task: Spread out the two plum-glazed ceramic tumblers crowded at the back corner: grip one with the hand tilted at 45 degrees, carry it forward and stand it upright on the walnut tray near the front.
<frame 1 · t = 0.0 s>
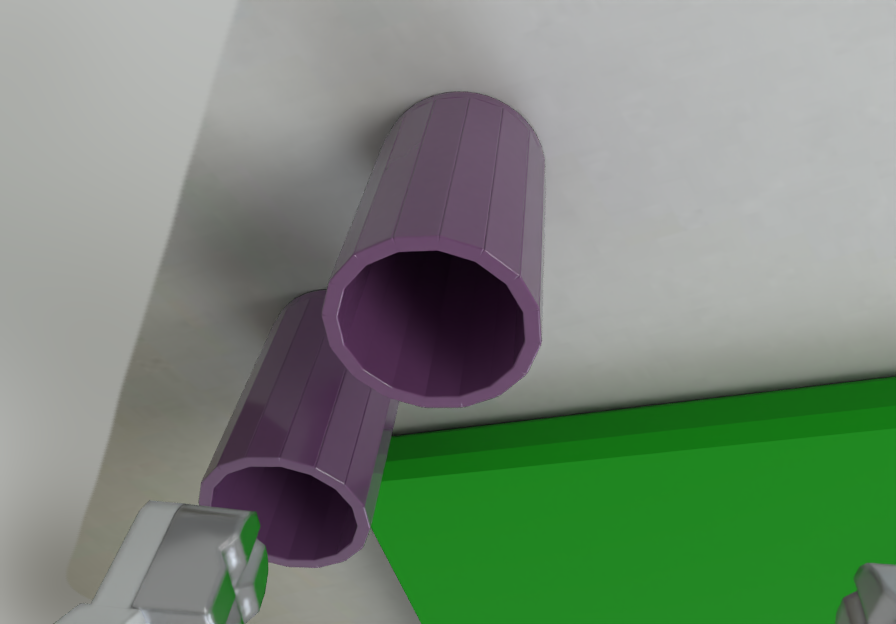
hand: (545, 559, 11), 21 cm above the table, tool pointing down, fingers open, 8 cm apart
book: (661, 541, 44), on the table
plum tumbler: (463, 169, 31), on the table
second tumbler: (341, 343, 37), on the table
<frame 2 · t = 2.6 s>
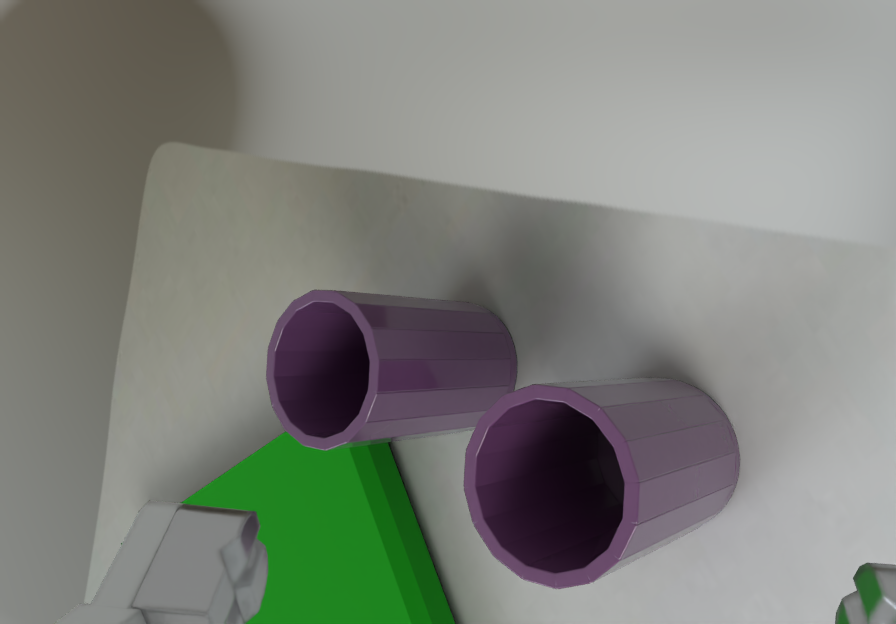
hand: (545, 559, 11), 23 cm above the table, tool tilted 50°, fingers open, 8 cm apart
plum tumbler: (662, 453, 33), on the table
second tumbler: (463, 366, 40), on the table
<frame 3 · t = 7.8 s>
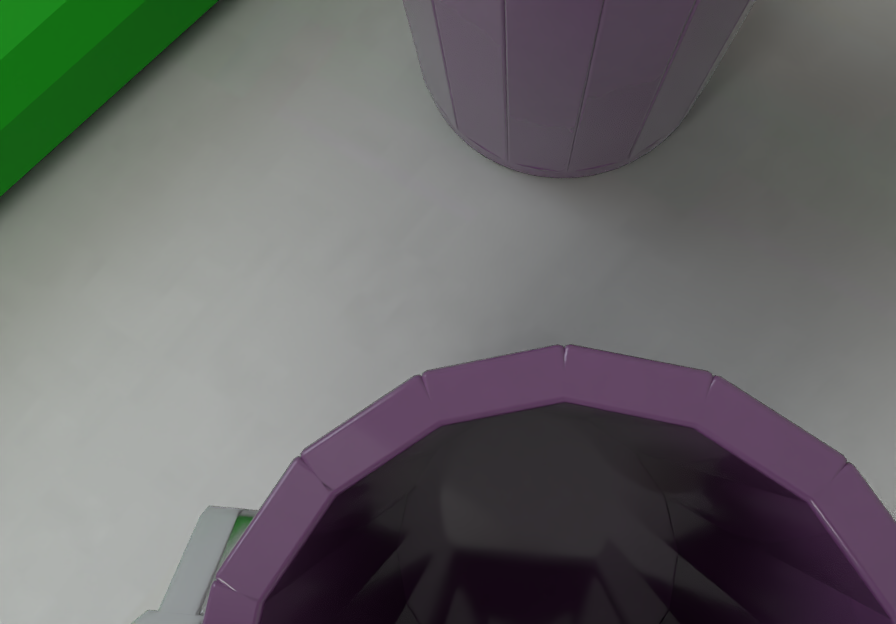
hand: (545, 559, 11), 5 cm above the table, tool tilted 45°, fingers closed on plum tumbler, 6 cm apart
plum tumbler: (534, 545, 16), on the table, touching gripper
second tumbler: (563, 39, 18), on the table
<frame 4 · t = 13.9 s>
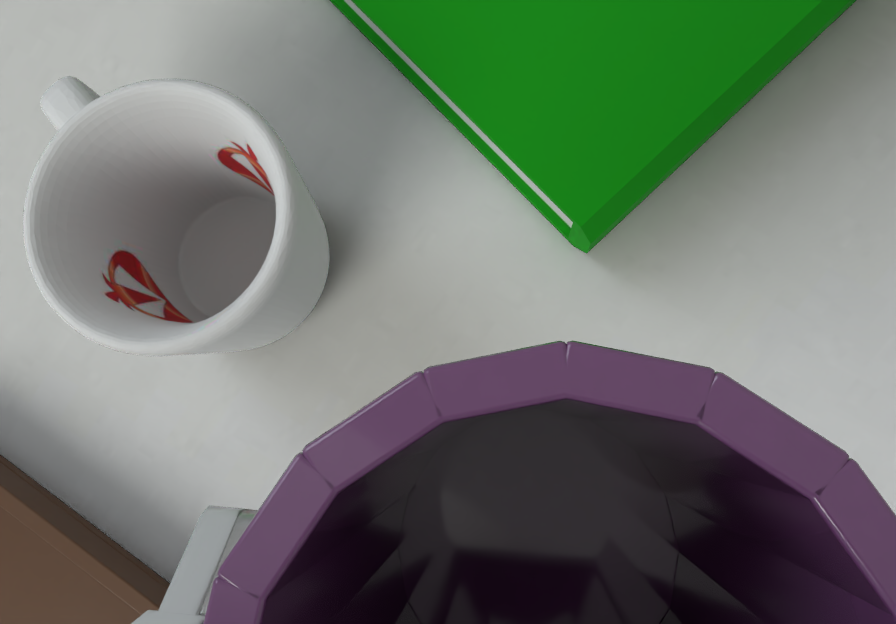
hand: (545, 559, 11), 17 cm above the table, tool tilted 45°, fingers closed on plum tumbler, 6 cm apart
cup: (228, 240, 30), on the table
plum tumbler: (535, 544, 16), point 12 cm above the table, touching gripper
when the fingers open (6 cm above the table, at t = 20.1 s): plum tumbler stays where it is, resting on walnut tray.
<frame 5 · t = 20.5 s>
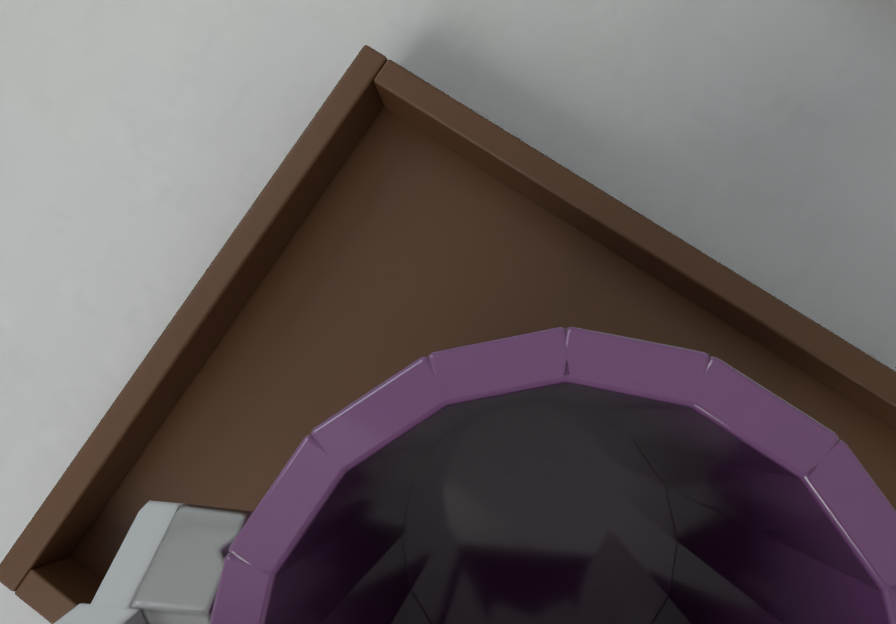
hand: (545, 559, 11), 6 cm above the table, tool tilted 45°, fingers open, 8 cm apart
plum tumbler: (536, 534, 16), resting on walnut tray
walnut tray: (532, 534, 17), on the table
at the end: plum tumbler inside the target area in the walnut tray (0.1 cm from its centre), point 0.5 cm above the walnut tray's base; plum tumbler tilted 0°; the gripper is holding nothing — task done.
